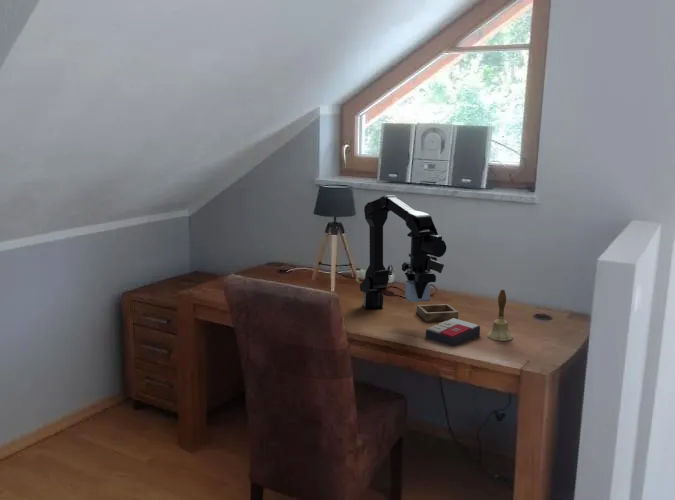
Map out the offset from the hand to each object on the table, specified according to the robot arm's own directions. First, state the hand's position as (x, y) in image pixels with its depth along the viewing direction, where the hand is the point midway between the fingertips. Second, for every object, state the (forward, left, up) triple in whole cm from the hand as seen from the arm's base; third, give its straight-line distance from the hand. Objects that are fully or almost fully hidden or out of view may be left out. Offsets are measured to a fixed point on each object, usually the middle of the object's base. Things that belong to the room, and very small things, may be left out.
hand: (417, 296), depth 225 cm
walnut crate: (+11, +9, -10) cm, 18 cm away
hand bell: (+24, -15, -11) cm, 30 cm away
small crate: (0, 0, -1) cm, 1 cm away
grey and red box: (+9, -12, -11) cm, 19 cm away
